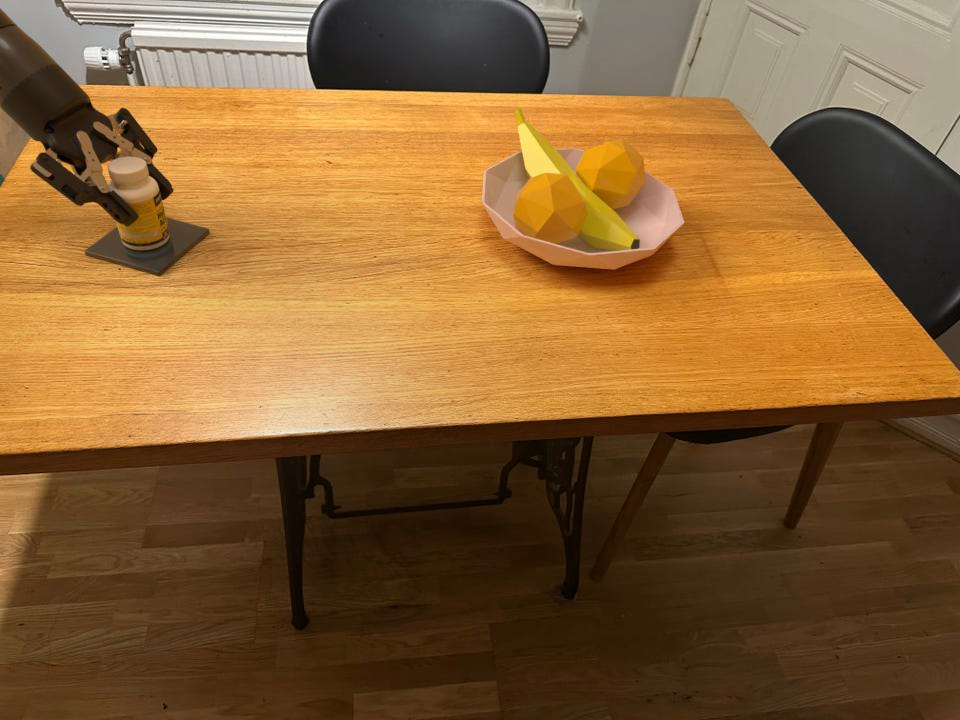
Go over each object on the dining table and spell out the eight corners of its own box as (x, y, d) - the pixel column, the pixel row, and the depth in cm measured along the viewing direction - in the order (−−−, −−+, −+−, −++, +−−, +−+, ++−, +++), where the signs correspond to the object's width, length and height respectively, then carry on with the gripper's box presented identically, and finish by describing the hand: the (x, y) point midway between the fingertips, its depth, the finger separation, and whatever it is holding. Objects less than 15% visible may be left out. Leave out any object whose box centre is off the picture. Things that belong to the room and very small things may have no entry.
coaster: (159, 276, 80) (158, 272, 80) (85, 254, 82) (83, 250, 81) (210, 232, 87) (209, 228, 87) (140, 213, 89) (139, 209, 88)
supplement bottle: (174, 247, 83) (155, 173, 76) (124, 255, 81) (101, 179, 74) (167, 224, 87) (149, 150, 80) (120, 231, 85) (97, 156, 78)
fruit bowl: (707, 280, 89) (737, 203, 82) (507, 302, 82) (519, 220, 74) (617, 173, 108) (635, 102, 101) (449, 183, 101) (454, 108, 94)
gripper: (-15, 89, 67) (124, 225, 73) (89, 43, 77) (204, 165, 83) (-38, 129, 71) (95, 254, 77) (64, 81, 82) (174, 194, 88)
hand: (151, 208), depth 80 cm, fingers open, 5 cm apart
